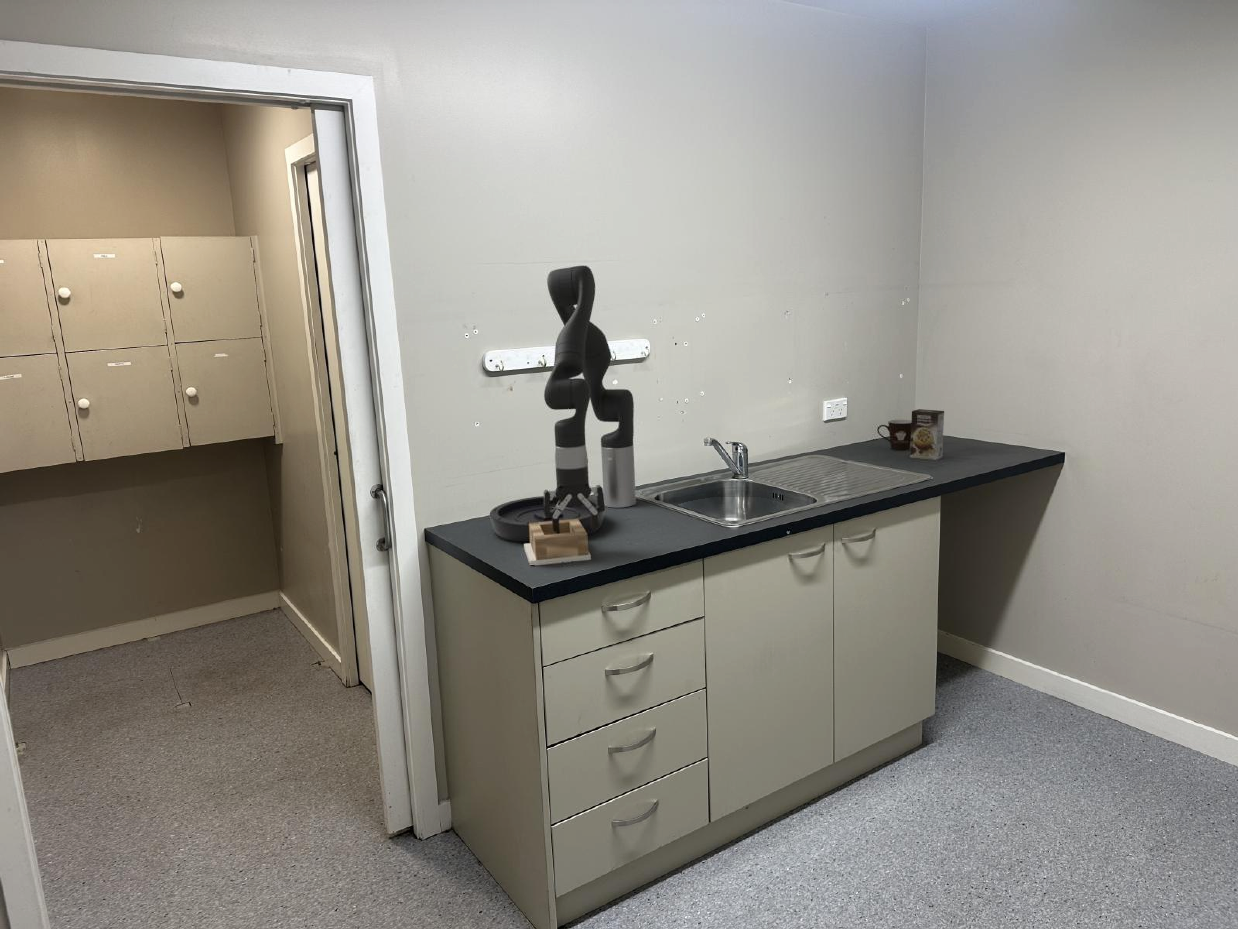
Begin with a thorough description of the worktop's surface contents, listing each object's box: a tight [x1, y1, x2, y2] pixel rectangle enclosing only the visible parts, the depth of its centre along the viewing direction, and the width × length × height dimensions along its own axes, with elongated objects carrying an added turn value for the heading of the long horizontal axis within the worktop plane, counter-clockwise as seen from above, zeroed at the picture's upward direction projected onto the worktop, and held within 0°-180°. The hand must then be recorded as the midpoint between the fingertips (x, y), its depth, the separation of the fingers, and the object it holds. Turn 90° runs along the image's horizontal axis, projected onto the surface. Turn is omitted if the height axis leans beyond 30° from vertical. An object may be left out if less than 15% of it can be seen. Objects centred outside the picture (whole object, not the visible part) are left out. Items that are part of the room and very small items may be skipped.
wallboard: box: [523, 543, 592, 566], centre depth 201 cm, size 14×14×4 cm
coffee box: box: [909, 408, 945, 461], centre depth 289 cm, size 9×6×16 cm
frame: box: [529, 519, 589, 560], centre depth 201 cm, size 14×12×5 cm
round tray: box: [489, 495, 606, 544], centre depth 223 cm, size 30×6×30 cm
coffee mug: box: [876, 419, 912, 452], centre depth 306 cm, size 12×9×10 cm
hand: (575, 531), depth 202 cm, fingers open, 8 cm apart
